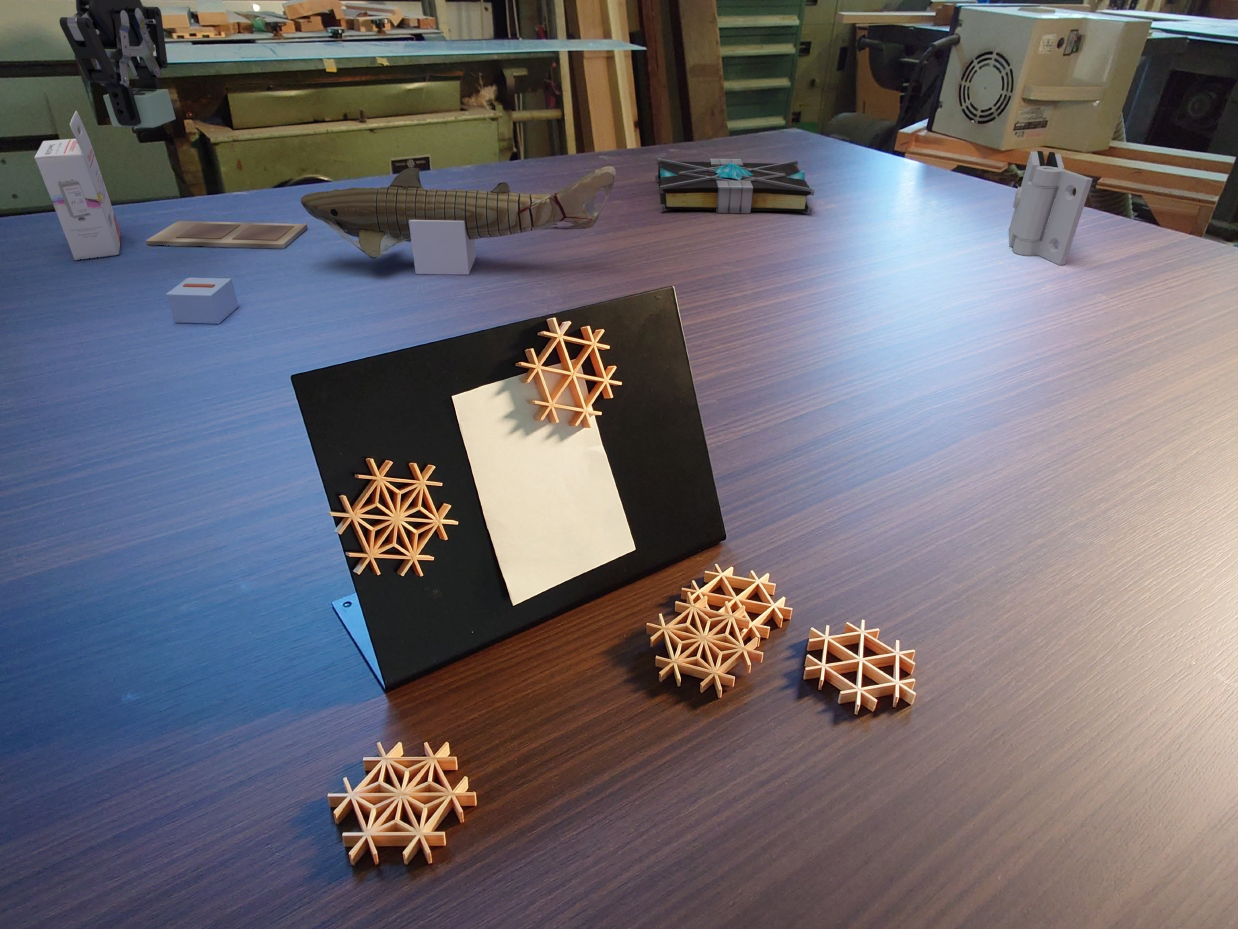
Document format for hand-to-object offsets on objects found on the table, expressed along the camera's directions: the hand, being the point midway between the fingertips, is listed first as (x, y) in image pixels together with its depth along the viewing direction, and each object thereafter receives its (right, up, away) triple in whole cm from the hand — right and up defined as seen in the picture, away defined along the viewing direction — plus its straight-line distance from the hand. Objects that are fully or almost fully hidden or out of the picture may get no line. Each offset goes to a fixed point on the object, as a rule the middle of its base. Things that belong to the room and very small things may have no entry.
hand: (143, 119), depth 86 cm
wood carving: (+33, -14, +8) cm, 37 cm away
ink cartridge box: (-12, -11, +11) cm, 20 cm away
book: (+67, +2, +33) cm, 75 cm away
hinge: (+103, -10, +16) cm, 105 cm away
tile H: (0, 0, 0) cm, 0 cm away
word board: (+2, -8, +15) cm, 17 cm away
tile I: (+9, -22, -5) cm, 24 cm away
